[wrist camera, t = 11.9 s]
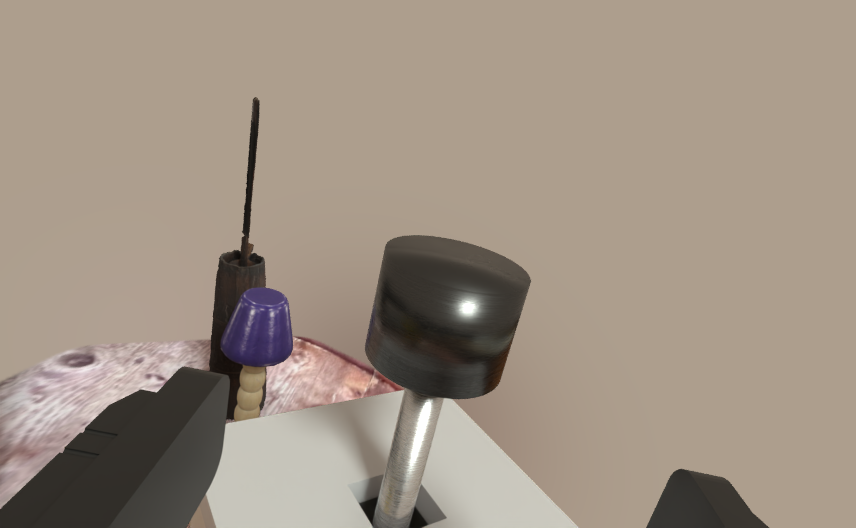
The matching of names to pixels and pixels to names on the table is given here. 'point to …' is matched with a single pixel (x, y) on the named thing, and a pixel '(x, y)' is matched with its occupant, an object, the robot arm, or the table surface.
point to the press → (365, 473)
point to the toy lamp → (257, 343)
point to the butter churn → (237, 282)
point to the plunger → (437, 345)
